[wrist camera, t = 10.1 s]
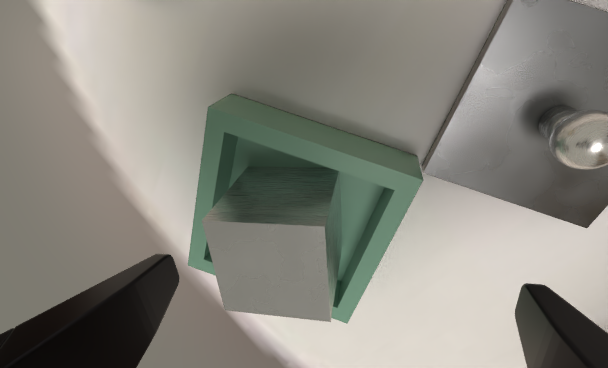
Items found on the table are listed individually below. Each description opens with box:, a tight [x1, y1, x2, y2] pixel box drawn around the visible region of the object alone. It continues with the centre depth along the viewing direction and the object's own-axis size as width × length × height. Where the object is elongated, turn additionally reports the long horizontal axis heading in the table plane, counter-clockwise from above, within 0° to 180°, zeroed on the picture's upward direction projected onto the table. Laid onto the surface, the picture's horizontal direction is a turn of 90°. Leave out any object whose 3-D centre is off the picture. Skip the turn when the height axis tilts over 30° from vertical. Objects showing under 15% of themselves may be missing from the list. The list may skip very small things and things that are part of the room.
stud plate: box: [422, 0, 608, 228], centre depth 14 cm, size 9×9×4 cm
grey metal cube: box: [202, 166, 342, 322], centre depth 18 cm, size 6×6×6 cm
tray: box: [188, 94, 423, 323], centre depth 20 cm, size 11×11×3 cm
